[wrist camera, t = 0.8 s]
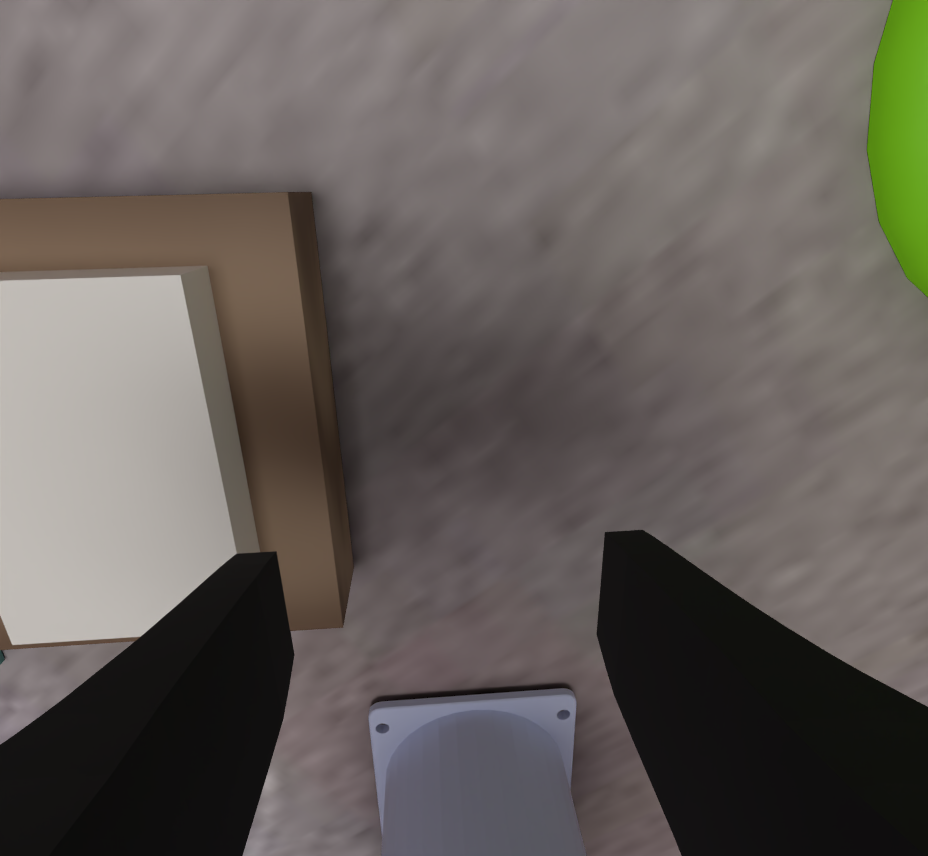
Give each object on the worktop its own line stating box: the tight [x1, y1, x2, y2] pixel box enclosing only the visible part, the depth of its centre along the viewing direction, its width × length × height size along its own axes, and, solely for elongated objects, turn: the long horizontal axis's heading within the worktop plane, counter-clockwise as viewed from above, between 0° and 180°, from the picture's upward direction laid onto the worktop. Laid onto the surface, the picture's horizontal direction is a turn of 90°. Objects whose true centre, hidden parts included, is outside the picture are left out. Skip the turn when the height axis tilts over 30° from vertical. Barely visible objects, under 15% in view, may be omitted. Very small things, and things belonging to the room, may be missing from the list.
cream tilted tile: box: [0, 266, 260, 645], centre depth 14 cm, size 9×6×2 cm, turn 1°
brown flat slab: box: [0, 192, 354, 650], centre depth 16 cm, size 12×12×3 cm
